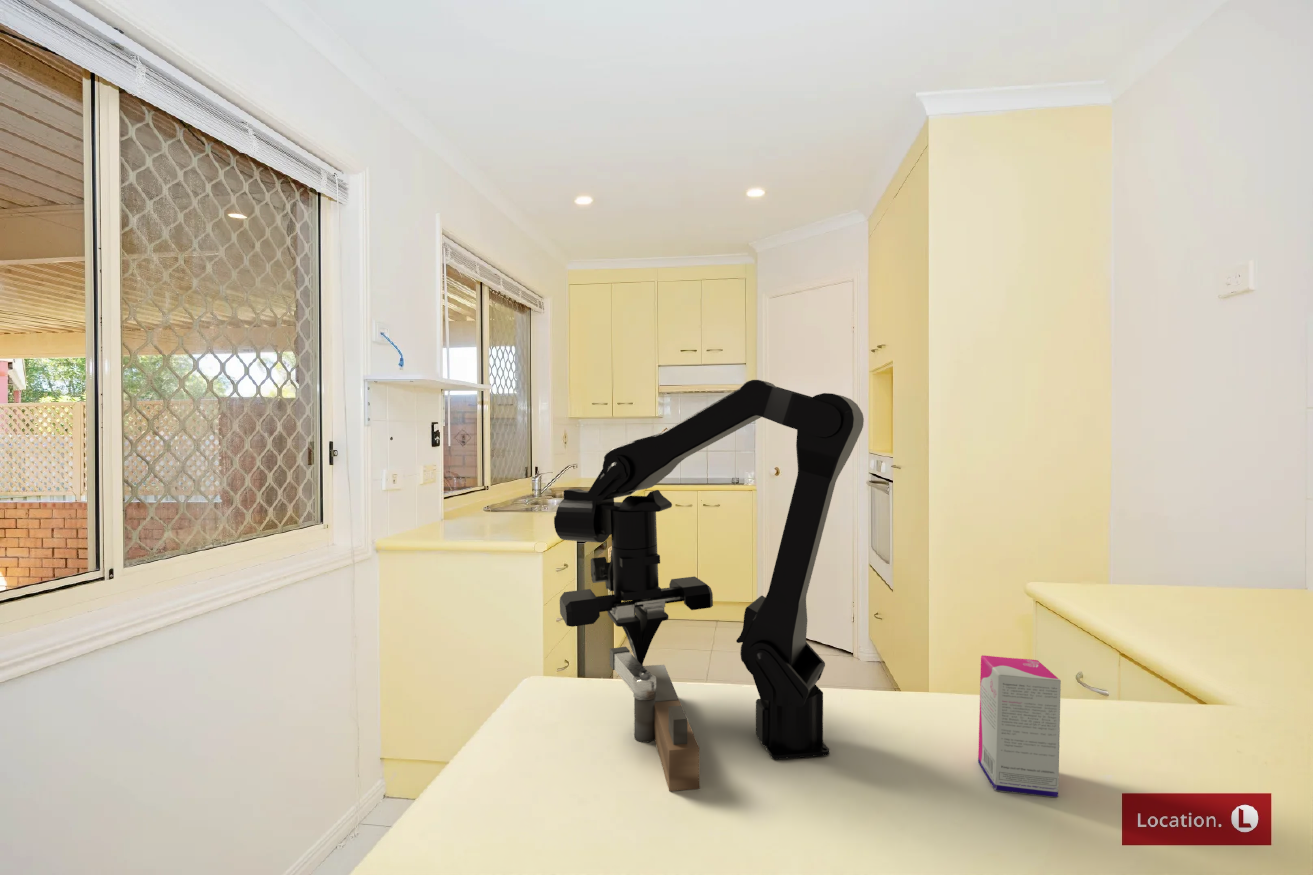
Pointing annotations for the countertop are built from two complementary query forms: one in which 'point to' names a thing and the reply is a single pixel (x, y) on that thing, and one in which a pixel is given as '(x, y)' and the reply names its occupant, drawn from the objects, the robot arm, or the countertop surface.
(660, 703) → the wooden block clamp
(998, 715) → the supplement box
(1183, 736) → the countertop surface
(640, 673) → the bar
